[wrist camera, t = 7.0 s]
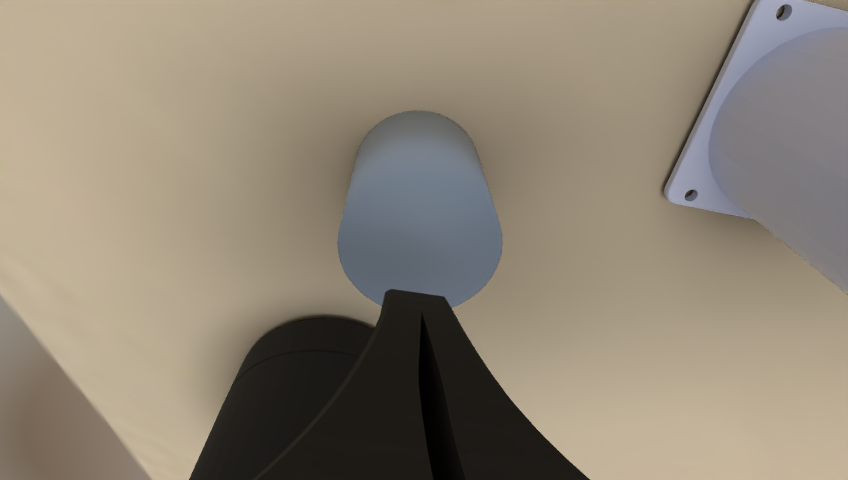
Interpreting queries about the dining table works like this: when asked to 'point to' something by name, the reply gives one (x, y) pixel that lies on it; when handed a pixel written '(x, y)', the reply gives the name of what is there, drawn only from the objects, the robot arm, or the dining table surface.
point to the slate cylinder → (419, 212)
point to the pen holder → (279, 395)
